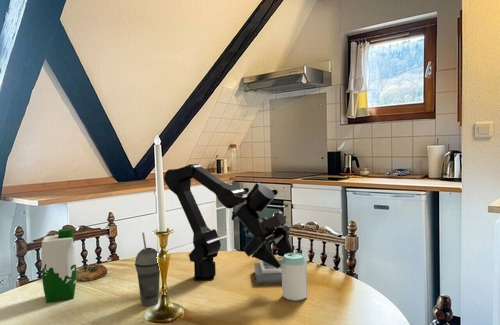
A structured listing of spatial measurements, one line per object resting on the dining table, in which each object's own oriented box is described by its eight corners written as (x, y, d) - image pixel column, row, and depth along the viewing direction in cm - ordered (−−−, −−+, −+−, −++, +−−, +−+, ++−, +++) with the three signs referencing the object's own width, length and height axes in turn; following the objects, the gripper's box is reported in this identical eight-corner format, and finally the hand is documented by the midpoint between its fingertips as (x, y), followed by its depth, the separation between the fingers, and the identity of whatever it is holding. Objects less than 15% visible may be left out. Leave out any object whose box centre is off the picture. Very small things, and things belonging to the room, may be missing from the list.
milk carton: (77, 299, 108) (73, 231, 108) (41, 305, 105) (38, 235, 104) (78, 289, 116) (75, 226, 116) (45, 294, 113) (42, 229, 112)
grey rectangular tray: (257, 284, 116) (256, 271, 116) (254, 271, 128) (254, 259, 127) (301, 282, 116) (301, 269, 116) (294, 269, 128) (294, 257, 128)
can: (279, 300, 103) (278, 257, 103) (286, 291, 110) (285, 251, 109) (303, 303, 101) (302, 260, 100) (310, 293, 107) (309, 253, 107)
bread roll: (112, 269, 134) (110, 257, 133) (101, 285, 123) (99, 271, 122) (81, 272, 134) (79, 259, 133) (67, 287, 123) (65, 273, 122)
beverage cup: (156, 309, 100) (153, 235, 99) (131, 307, 101) (128, 235, 100) (167, 298, 107) (164, 229, 106) (144, 297, 108) (141, 229, 108)
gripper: (251, 208, 101) (289, 253, 95) (283, 199, 116) (317, 237, 111) (229, 234, 105) (263, 279, 100) (263, 222, 121) (294, 260, 115)
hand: (286, 262), depth 106 cm, fingers open, 9 cm apart
